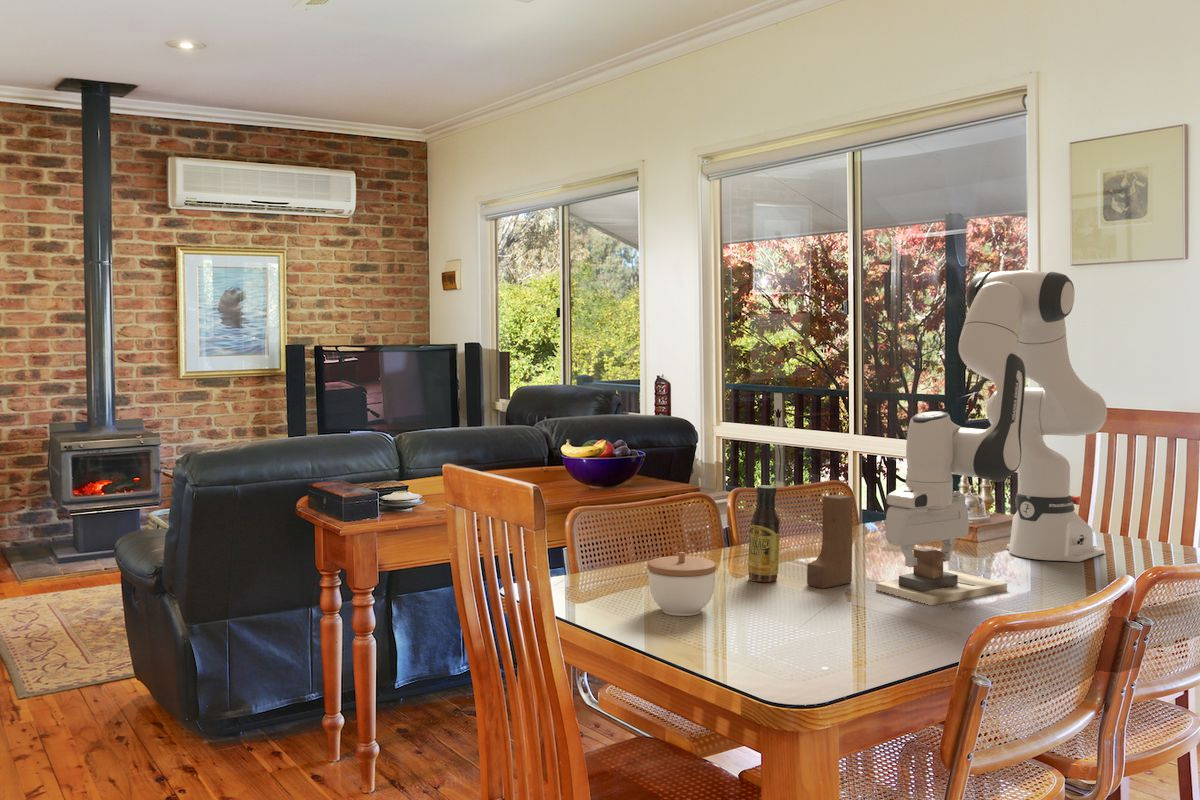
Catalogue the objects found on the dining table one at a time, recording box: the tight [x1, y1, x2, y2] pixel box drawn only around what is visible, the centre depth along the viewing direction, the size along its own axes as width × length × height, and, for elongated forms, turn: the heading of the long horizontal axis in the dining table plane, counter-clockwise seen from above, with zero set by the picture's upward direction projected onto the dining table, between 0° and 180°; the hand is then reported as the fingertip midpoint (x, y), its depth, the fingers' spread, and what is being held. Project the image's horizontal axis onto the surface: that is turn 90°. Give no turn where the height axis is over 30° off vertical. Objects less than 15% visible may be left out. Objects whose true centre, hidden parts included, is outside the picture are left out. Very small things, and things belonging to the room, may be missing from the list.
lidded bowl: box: [647, 551, 717, 617], centre depth 194 cm, size 13×13×11 cm
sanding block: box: [898, 546, 958, 592], centre depth 207 cm, size 10×6×7 cm, turn 121°
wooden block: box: [806, 494, 854, 590], centre depth 215 cm, size 9×4×18 cm, turn 126°
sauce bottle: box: [747, 484, 781, 584], centre depth 218 cm, size 6×6×20 cm
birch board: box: [875, 569, 1008, 606], centre depth 209 cm, size 22×14×2 cm, turn 121°
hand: (927, 563), depth 207 cm, fingers open, 8 cm apart
